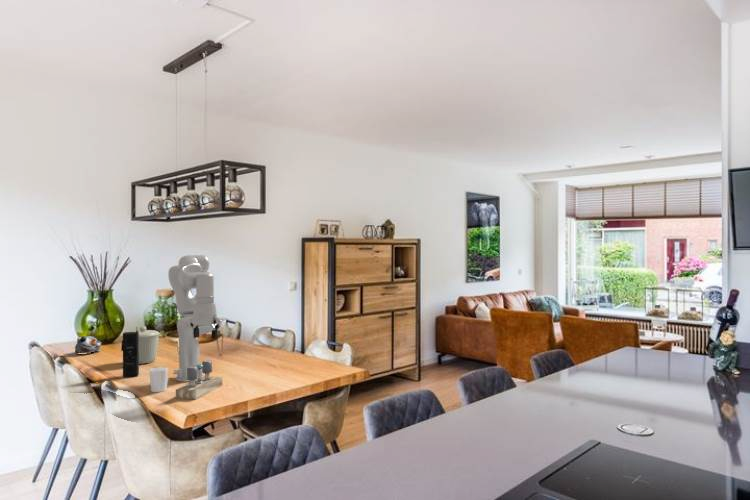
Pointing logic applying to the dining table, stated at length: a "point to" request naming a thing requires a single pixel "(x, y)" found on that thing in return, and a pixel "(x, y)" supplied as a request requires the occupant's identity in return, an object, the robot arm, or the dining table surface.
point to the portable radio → (130, 354)
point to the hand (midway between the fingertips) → (205, 338)
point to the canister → (147, 345)
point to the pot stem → (199, 374)
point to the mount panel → (198, 388)
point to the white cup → (159, 379)
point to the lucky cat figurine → (87, 345)
